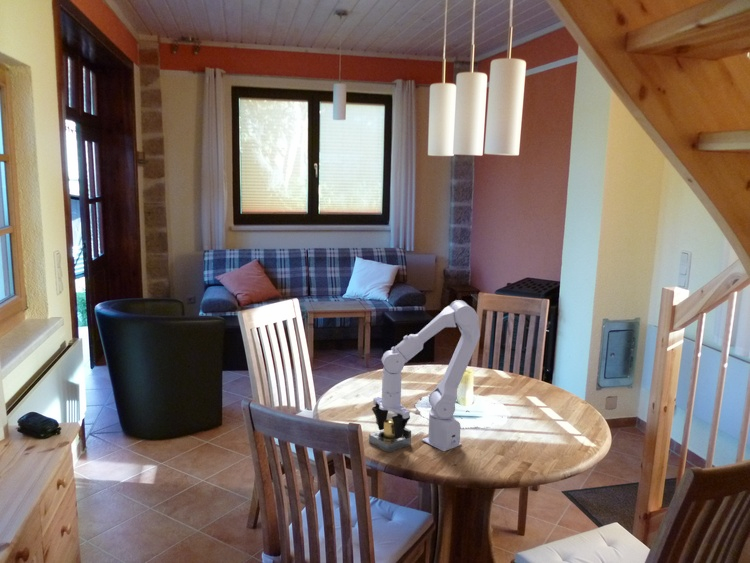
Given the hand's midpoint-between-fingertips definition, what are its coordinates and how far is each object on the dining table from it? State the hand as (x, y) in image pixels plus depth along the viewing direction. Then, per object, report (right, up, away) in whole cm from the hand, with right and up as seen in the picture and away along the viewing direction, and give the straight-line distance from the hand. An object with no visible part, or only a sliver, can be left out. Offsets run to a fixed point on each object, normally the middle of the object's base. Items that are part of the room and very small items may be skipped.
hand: (390, 433), depth 181 cm
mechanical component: (+1, -1, +17) cm, 17 cm away
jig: (0, -3, +1) cm, 3 cm away
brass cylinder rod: (0, -3, +1) cm, 3 cm away
